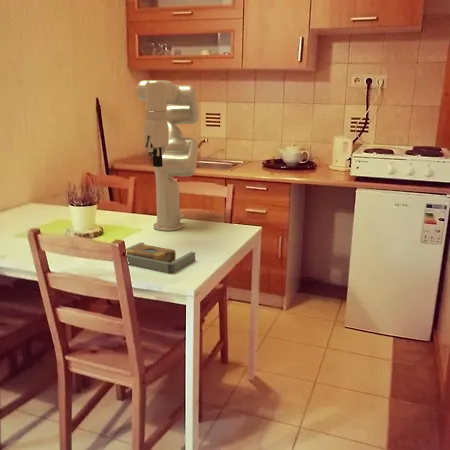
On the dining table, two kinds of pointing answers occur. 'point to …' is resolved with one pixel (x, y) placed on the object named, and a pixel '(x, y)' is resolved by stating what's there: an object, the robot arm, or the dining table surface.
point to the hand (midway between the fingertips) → (157, 166)
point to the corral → (160, 262)
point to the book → (153, 253)
